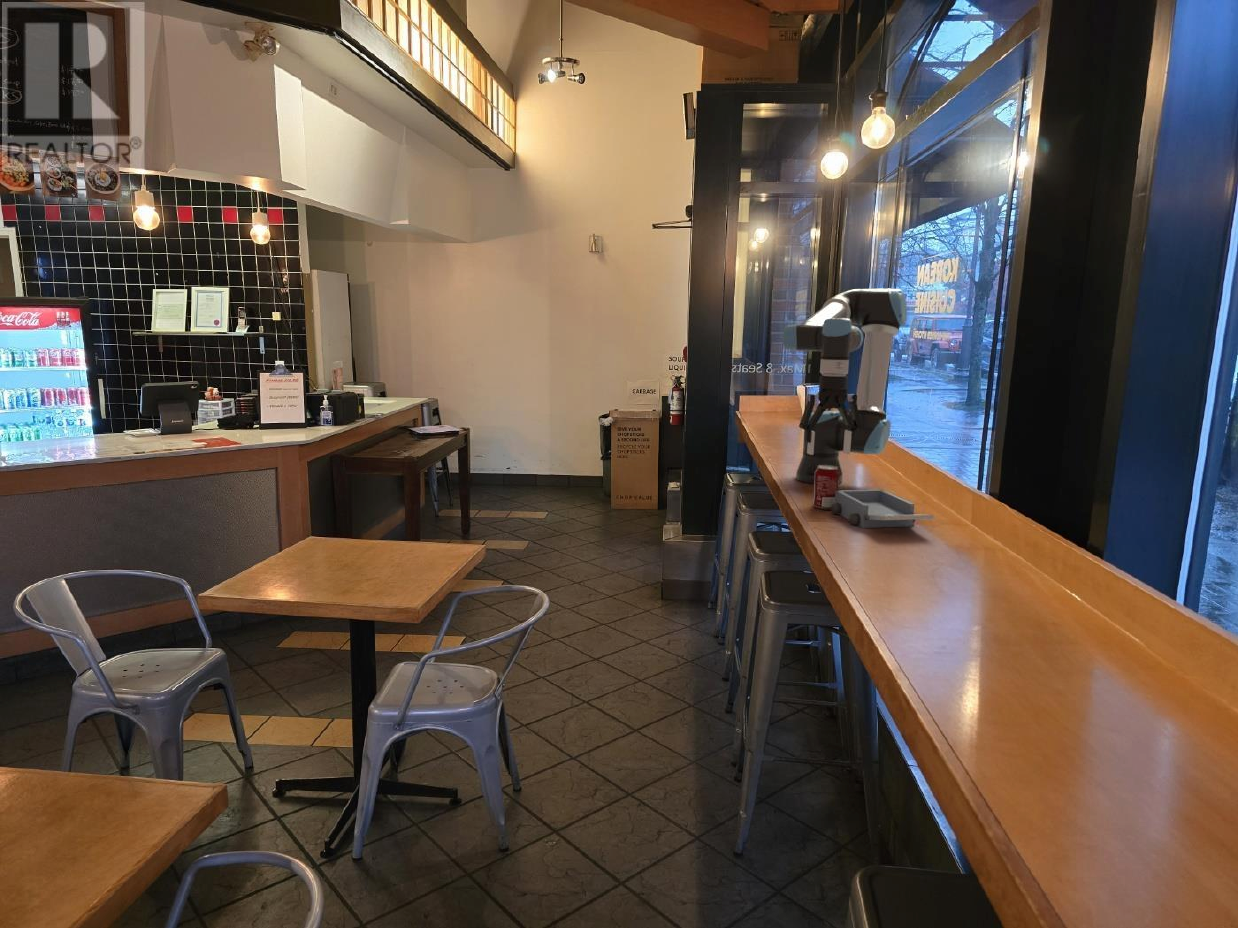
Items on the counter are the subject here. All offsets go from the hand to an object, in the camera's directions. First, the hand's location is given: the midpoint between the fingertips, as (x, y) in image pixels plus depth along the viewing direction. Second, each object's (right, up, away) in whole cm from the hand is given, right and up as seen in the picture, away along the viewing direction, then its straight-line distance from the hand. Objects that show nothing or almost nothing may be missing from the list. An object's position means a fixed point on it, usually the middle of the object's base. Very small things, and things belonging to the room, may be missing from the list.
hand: (828, 453), depth 209 cm
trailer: (+10, -18, -8) cm, 22 cm away
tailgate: (+11, -17, -18) cm, 27 cm away
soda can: (0, -16, +3) cm, 16 cm away
